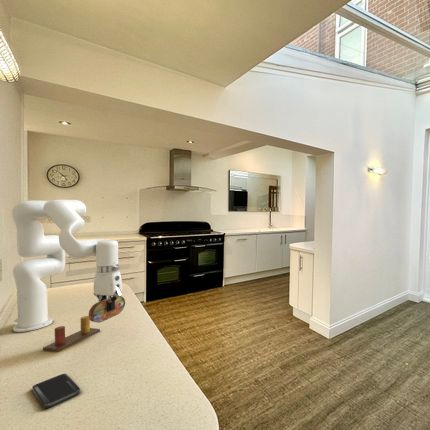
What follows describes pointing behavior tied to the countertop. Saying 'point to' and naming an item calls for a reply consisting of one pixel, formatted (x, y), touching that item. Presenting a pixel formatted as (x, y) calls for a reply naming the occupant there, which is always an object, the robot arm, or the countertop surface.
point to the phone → (55, 390)
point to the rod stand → (71, 336)
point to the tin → (105, 310)
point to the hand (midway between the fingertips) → (107, 309)
